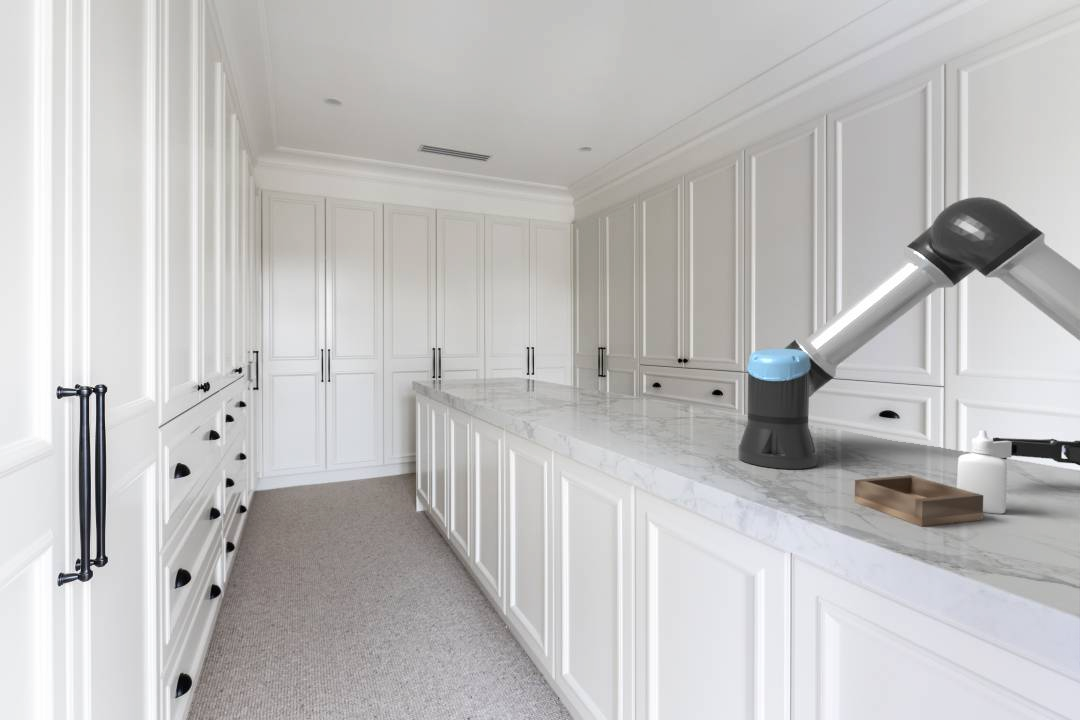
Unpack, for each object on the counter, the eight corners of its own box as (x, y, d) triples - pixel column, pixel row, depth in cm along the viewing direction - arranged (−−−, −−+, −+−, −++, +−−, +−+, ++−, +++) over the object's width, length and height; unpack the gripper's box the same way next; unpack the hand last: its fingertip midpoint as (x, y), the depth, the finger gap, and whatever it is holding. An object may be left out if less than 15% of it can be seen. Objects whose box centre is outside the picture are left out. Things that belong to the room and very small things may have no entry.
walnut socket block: (854, 501, 81) (855, 479, 81) (909, 496, 84) (910, 475, 84) (921, 526, 70) (922, 501, 70) (982, 519, 73) (983, 495, 73)
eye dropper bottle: (966, 502, 81) (969, 426, 81) (1010, 513, 76) (1014, 432, 75) (950, 505, 79) (953, 428, 79) (994, 517, 74) (997, 434, 74)
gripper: (1238, 498, 73) (1137, 510, 67) (1032, 458, 97) (945, 465, 92) (1241, 445, 72) (1139, 453, 67) (1033, 418, 97) (946, 423, 91)
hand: (1027, 460), depth 79 cm, fingers open, 13 cm apart
